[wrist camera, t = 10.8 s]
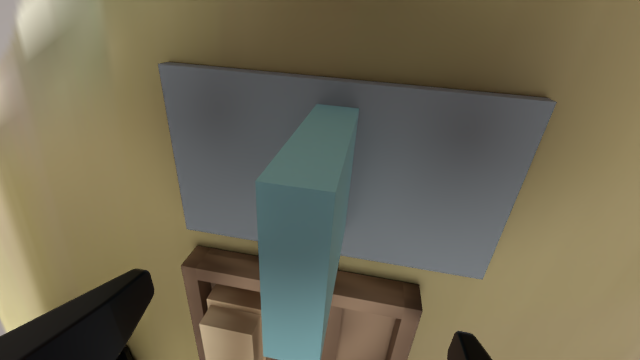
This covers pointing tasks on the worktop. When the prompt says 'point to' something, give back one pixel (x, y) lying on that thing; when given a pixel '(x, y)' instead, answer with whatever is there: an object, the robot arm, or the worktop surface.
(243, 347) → the offcut upper
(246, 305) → the offcut lower
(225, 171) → the mat
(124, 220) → the worktop surface
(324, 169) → the teal flat block
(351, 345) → the tray
